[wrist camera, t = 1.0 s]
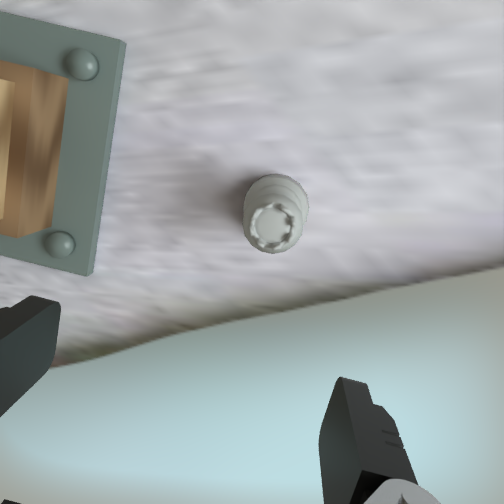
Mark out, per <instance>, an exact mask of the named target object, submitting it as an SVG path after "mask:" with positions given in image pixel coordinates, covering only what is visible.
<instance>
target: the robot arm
mask: <svg viewBox="0 0 504 504" xmlns="http://www.w3.org/2000/svg"><path fill="white" fill-rule="evenodd" d="M60 313H61V306H60V303H59V302H56V301H52V300H48V299H45V298H41V297H37V296H33V295H32V296H29V297H27V298H25V299H24V300H22V301H21V302H19V303H17V304H16V305H14V306H12V307H11V308H9V307H4V308H1V309H0V417H1V416H2V415H3V414H4V413H5V412H6V411H7V410H8V409H9V408H10V407H11V406H12V405H13V404H14V403H15V402H16V401H17V400H18V399H20V398H21V397H22V396H23V395H24V394H25V392H27V391H28V390H29V389H30V388H31V387H32V386H33V385H34V384H35V383H36V382H37V381H38V380H39V379H40V378H41V377H42V376H43V375H44V374H45V373H46V372H47V371H48V369H49V367H50V365H51V363H52V361H53V358H54V355H55V350H56V343H57V335H58V328H59V320H60ZM403 447H404V446H403V443H402V440H401V437H399V432H398V429H397V427H396V424H395V421H394V420H393V418H392V417H391V416H390V415H389V414H388V413H387V411H386V410H385V409H384V408H383V407H382V406H379V405H375V404H373V402H372V399H371V395H370V392H369V389H368V386H367V384H366V383H362V382H359V381H355V380H351V379H347V378H343V377H339V378H338V379H337V381H336V383H335V386H334V389H333V392H332V395H331V398H330V401H329V404H328V408H327V410H326V413H325V416H324V419H323V422H322V425H321V430H320V435H319V456H320V466H321V477H322V487H323V497H324V504H440V503H439V502H438V500H437V499H436V498H435V497H434V496H433V495H432V494H430V493H429V492H428V491H426V490H425V489H423V488H421V487H420V486H418V483H417V480H416V478H415V475H414V472H413V470H412V467H411V464H410V461H409V459H408V456H407V453H406V451H405V449H403ZM1 504H20V503H17V502H13V501H9V500H5V499H4V501H3V502H2V503H1Z"/></svg>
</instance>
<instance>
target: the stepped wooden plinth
mask: <svg viewBox="0 0 504 504" xmlns="http://www.w3.org/2000/svg"><path fill="white" fill-rule="evenodd" d="M68 81H69V79H68V78H65V77H62V76H58V75H55V74H52V73H49V72H45V71H42V70H39V69H36V68H32V67H28V66H24V65H19V64H15V63H11V62H7V61H3V60H0V234H2V235H6V236H10V237H14V238H20V237H23V236H26V235H29V234H32V233H34V232H37V231H40V230H43V229H46V228H49V227H51V226H52V217H53V209H54V200H55V192H56V183H57V175H58V166H59V158H60V149H61V141H62V132H63V124H64V115H65V107H66V98H67V90H68Z"/></svg>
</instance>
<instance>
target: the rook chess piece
mask: <svg viewBox="0 0 504 504" xmlns="http://www.w3.org/2000/svg"><path fill="white" fill-rule="evenodd" d="M243 211H244V217H243V223H242V225H243V229H244V234H245V236H246V238H247V239H248V241H249V242H250V244H251V245H252V246H254V247H255V248H257V249H258V250H260V251H261V252H266V253H272V254H275V253H280V252H285V251H286V250H288V249H289V248H291V247H293V246H294V245H295V244H296V242H297V241H298V240H299V238H300V237H301V235H302V230H303V226H304V224H305V222H306V220H307V216H308V211H309V203H308V197H307V194H306V192H305V191H304V189H303V188H302V186H301V185H300V183H298V182H297V181H295V180H294V179H292V178H291V177H289V176H284V175H279V174H273V175H269V176H264V177H262V178H261V179H259V180H258V181H256V182H255V183H253V184H252V186H251V187H250V189H249V190H248V192H247V194H246V196H245V201H244V207H243Z"/></svg>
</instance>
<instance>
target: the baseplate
mask: <svg viewBox="0 0 504 504" xmlns="http://www.w3.org/2000/svg"><path fill="white" fill-rule="evenodd" d="M125 49H126V43H125V42H123V41H122V40H119V39H115V38H110V37H106V36H102V35H98V34H93V33H89V32H85V31H81V30H76V29H72V28H68V27H64V26H60V25H55V24H51V23H47V22H43V21H38V20H34V19H30V18H26V17H21V16H17V15H13V14H9V13H5V12H0V60H3V61H7V62H11V63H15V64H19V65H24V66H28V67H32V68H36V69H39V70H42V71H45V72H49V73H52V74H55V75H58V76H62V77H65V78H68V79H69V81H68V90H67V98H66V107H65V115H64V124H63V132H62V141H61V149H60V158H59V166H58V175H57V183H56V192H55V200H54V209H53V217H52V226H51V227H49V228H46V229H43V230H40V231H37V232H34V233H32V234H29V235H26V236H23V237H20V238H14V237H10V236H6V235H2V234H0V255H2V256H6V257H10V258H14V259H18V260H22V261H26V262H30V263H34V264H38V265H42V266H46V267H50V268H54V269H58V270H62V271H66V272H70V273H74V274H78V275H82V276H86V277H87V276H89V275H90V274H92V273H93V268H94V261H95V255H96V248H97V241H98V234H99V227H100V220H101V213H102V207H103V200H104V193H105V186H106V179H107V172H108V166H109V159H110V152H111V145H112V138H113V131H114V124H115V118H116V111H117V104H118V97H119V90H120V83H121V77H122V70H123V63H124V56H125Z"/></svg>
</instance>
